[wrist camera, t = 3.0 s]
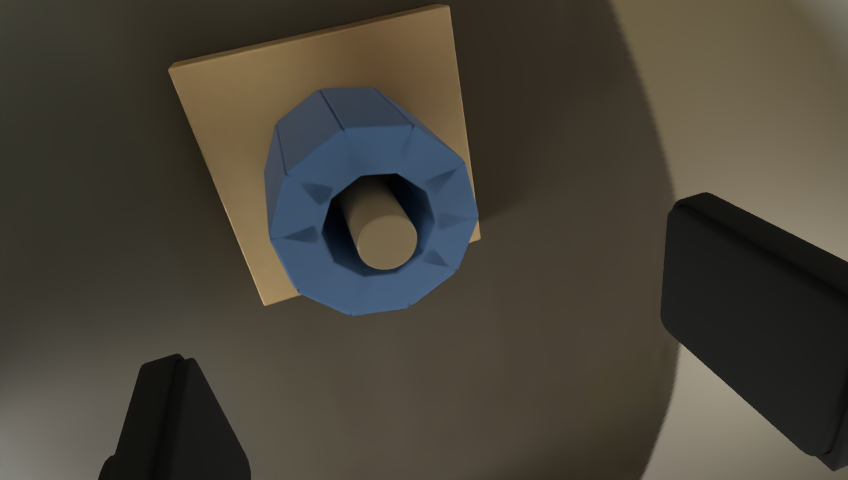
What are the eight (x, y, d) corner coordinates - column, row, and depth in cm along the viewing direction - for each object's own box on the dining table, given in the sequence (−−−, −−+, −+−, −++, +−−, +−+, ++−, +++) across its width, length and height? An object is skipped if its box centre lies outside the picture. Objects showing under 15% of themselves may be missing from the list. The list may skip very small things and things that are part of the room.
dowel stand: (263, 290, 21) (269, 422, 15) (172, 62, 17) (126, 118, 10) (471, 227, 23) (554, 324, 16) (438, 3, 18) (536, 20, 12)
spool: (250, 226, 18) (251, 304, 14) (289, 61, 16) (304, 93, 12) (397, 253, 21) (435, 326, 16) (447, 110, 19) (506, 152, 14)
